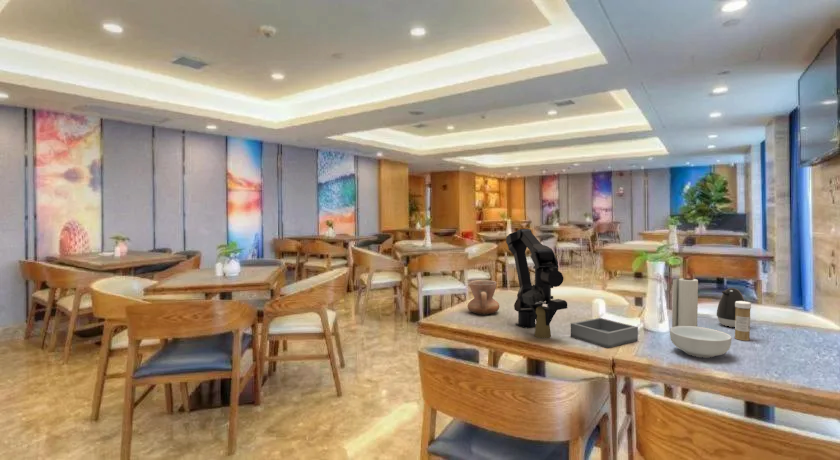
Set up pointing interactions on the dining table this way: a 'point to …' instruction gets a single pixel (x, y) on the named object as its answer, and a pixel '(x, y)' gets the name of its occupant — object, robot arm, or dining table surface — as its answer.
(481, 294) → the ceramic jug
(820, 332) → the dining table surface
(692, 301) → the grey tall block
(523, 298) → the robot arm
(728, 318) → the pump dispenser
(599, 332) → the tray
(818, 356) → the dining table surface
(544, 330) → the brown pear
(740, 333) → the sprinkles bottle
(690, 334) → the cereal bowl
